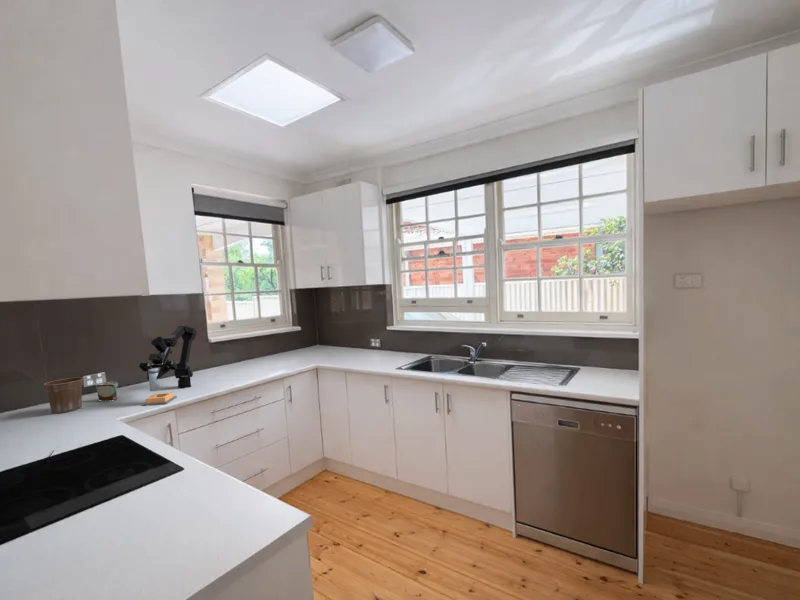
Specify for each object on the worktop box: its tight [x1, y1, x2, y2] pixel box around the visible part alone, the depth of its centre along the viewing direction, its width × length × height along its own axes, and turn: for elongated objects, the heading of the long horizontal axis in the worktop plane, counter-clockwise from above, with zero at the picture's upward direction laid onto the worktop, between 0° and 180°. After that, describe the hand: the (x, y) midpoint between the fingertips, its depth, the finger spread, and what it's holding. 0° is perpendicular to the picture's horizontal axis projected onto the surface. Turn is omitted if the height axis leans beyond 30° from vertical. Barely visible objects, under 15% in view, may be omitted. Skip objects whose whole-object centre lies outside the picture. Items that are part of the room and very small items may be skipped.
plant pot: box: [43, 376, 85, 414], centre depth 199 cm, size 16×16×16 cm
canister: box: [148, 368, 161, 392], centre depth 207 cm, size 5×5×12 cm
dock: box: [142, 392, 178, 407], centre depth 207 cm, size 12×12×4 cm
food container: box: [95, 381, 119, 402], centre depth 217 cm, size 12×6×10 cm, turn 84°
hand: (152, 379), depth 205 cm, fingers closed on canister, 5 cm apart
